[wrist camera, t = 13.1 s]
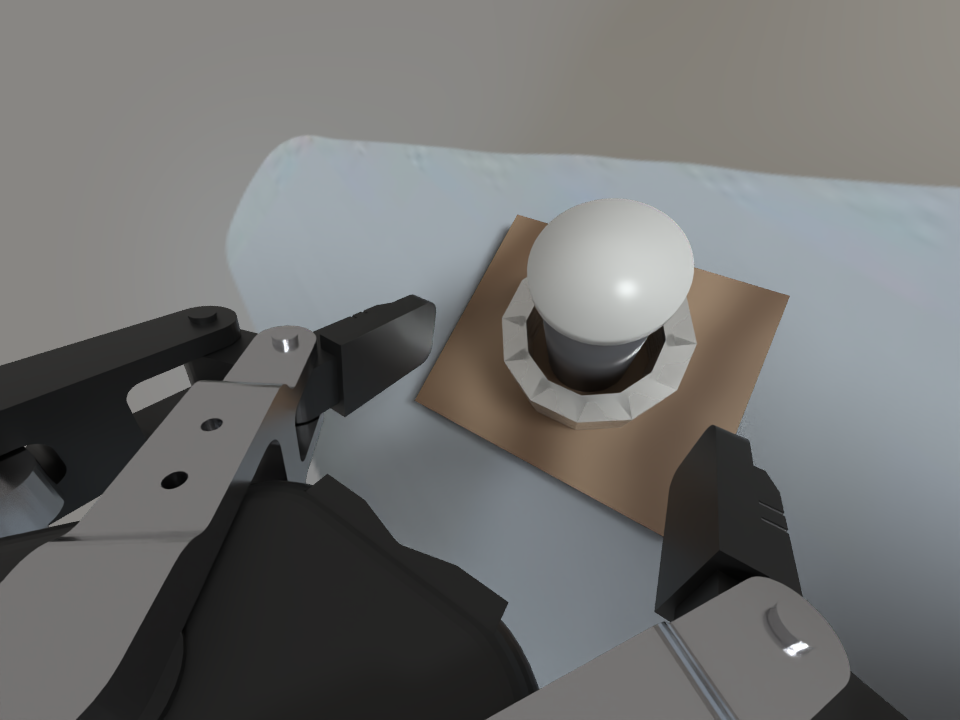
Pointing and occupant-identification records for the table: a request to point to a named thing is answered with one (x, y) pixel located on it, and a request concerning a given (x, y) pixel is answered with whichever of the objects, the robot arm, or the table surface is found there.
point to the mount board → (615, 451)
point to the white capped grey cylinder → (606, 286)
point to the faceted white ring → (598, 411)
